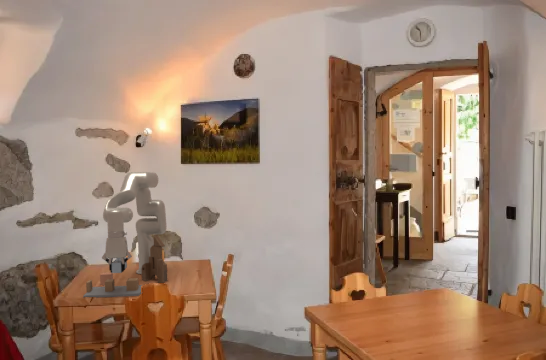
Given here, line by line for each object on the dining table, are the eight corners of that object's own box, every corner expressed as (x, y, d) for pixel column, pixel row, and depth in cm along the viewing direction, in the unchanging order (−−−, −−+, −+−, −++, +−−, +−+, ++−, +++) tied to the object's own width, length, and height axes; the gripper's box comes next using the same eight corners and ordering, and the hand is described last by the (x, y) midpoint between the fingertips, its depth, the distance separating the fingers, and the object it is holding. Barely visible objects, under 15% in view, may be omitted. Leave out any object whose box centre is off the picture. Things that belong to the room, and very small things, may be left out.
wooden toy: (141, 280, 287) (139, 235, 286) (150, 277, 292) (148, 233, 291) (160, 284, 278) (159, 237, 277) (170, 281, 284) (168, 235, 282)
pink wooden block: (102, 283, 282) (102, 272, 281) (113, 283, 282) (112, 272, 282) (100, 285, 277) (99, 274, 277) (111, 285, 278) (110, 274, 277)
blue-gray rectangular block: (118, 267, 269) (117, 257, 269) (126, 267, 269) (126, 257, 269) (112, 273, 256) (111, 263, 256) (121, 272, 256) (121, 262, 256)
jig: (92, 289, 270) (92, 277, 270) (145, 287, 272) (145, 275, 272) (83, 298, 254) (82, 285, 254) (139, 295, 256) (139, 283, 256)
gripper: (134, 233, 261) (136, 269, 262) (100, 234, 260) (101, 270, 261) (131, 235, 253) (133, 272, 254) (96, 236, 252) (97, 274, 253)
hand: (117, 271), depth 258 cm, fingers closed on blue-gray rectangular block, 4 cm apart
